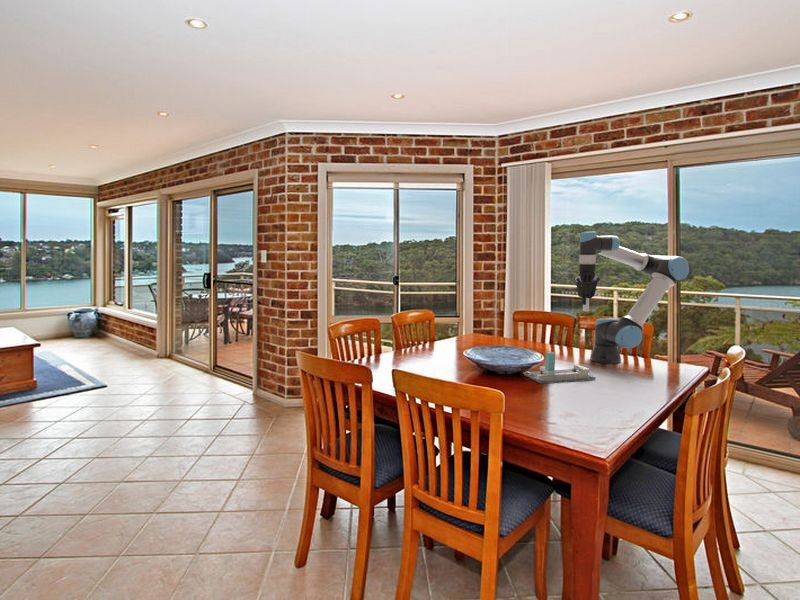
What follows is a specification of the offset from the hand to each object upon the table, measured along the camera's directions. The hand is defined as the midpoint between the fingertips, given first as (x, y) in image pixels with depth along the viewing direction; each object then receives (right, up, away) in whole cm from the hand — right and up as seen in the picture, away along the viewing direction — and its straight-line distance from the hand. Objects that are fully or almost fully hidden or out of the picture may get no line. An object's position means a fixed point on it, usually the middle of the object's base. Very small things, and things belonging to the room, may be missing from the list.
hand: (585, 311), depth 234 cm
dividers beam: (-18, -30, -15) cm, 38 cm away
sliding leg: (-25, -30, -17) cm, 42 cm away
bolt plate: (-18, -31, -13) cm, 38 cm away
